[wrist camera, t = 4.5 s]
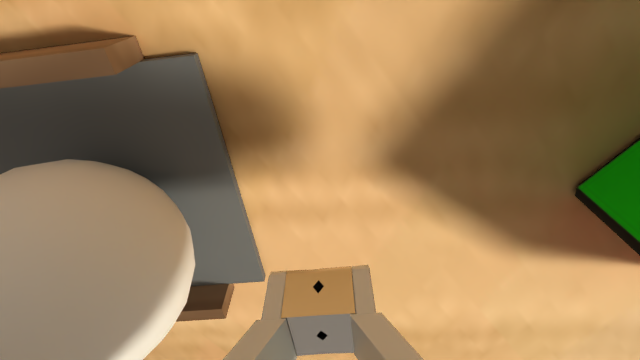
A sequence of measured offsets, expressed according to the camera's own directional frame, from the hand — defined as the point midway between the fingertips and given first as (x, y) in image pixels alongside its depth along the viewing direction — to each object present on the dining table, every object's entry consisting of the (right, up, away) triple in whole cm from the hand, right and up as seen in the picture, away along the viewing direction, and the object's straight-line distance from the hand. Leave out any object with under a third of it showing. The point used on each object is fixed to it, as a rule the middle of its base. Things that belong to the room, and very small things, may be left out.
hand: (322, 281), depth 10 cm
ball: (-9, +2, +5) cm, 10 cm away
